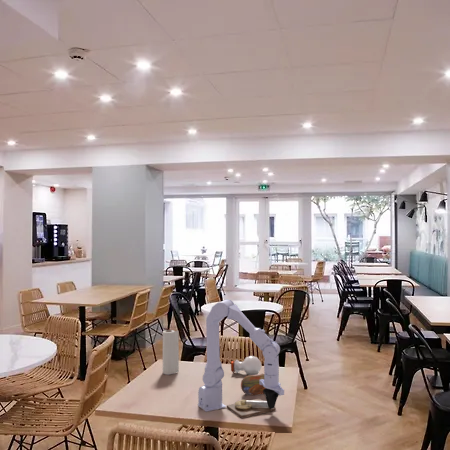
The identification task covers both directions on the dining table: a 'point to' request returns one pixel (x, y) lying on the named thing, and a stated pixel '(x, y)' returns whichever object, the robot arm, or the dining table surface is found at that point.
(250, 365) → the potion bottle
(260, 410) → the lever switch plate
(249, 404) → the switch lever
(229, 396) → the dining table surface
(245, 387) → the tin
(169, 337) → the paper towel roll
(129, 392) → the dining table surface
